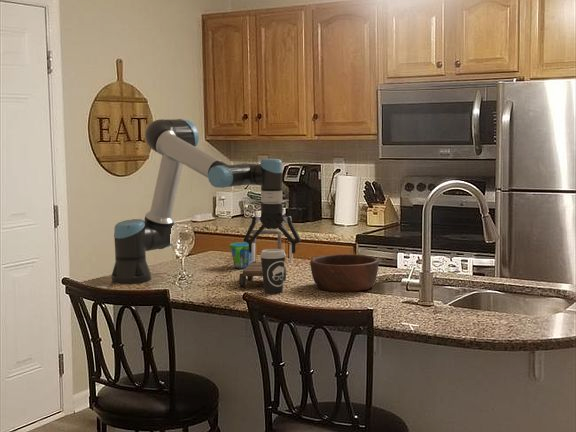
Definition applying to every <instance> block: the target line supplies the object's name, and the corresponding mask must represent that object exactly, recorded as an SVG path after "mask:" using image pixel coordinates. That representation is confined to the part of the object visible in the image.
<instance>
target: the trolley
mask: <svg viewBox="0 0 576 432" xmlns="http://www.w3.org/2000/svg"><path fill="white" fill-rule="evenodd" d="M257 231H258V229H253V231H252V233H251V238H252V237H253V235H254V234H255V233H256V232H257ZM259 235H277V249H281V250H282V232H281V231H280V230H279V229H263V231H262V232H261V233H260V234H259ZM253 243H255V262H252V263H251V264H250V265H249V266H247V267H246V268H245V269H242V273H240V274H239V278H238V279H239V281H238V282H239V287H240V288H245V287H246V284H247V280H249V281H250V280H251V281H252V280H253V279H254V277H263V273H262V264H261V261H259V262H258V261H257V238H256V239H255V240H254V241H253ZM286 280H287V267H285V266H284V279H283V281H286Z"/></svg>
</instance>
